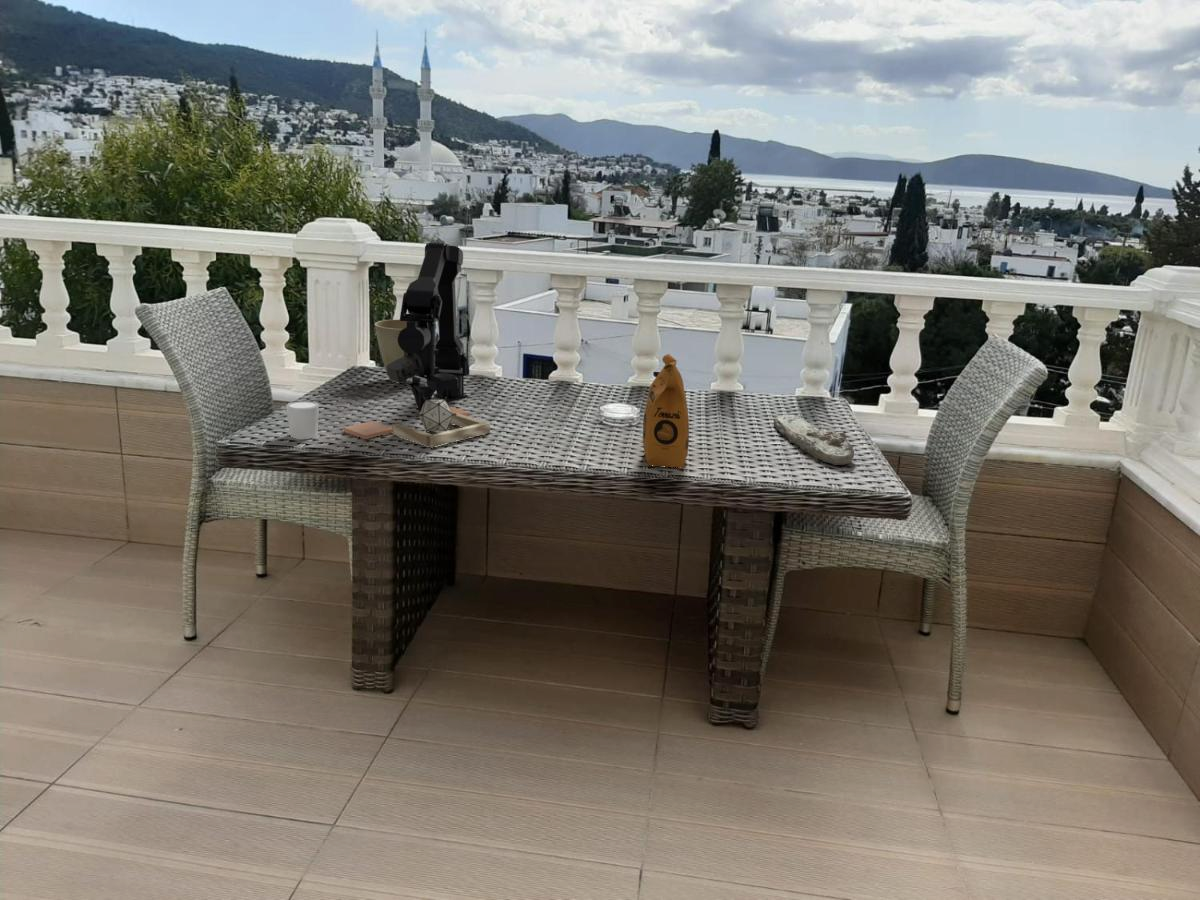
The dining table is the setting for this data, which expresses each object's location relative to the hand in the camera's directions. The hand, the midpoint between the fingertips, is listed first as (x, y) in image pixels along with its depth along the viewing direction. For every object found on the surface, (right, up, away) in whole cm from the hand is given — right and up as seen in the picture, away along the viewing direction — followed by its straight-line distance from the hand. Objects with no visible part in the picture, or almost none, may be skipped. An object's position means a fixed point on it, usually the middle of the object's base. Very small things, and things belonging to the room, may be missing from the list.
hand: (421, 412), depth 204 cm
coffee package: (+54, -11, -13) cm, 57 cm away
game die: (+3, -5, -2) cm, 6 cm away
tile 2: (+3, 0, +12) cm, 13 cm away
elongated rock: (+90, -8, +4) cm, 90 cm away
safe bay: (+5, -5, -3) cm, 8 cm away
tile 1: (-11, -5, -4) cm, 13 cm away
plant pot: (-14, +10, +45) cm, 48 cm away
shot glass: (-24, -6, -8) cm, 26 cm away
